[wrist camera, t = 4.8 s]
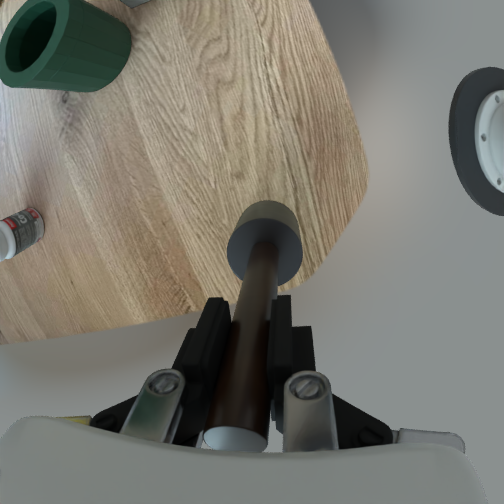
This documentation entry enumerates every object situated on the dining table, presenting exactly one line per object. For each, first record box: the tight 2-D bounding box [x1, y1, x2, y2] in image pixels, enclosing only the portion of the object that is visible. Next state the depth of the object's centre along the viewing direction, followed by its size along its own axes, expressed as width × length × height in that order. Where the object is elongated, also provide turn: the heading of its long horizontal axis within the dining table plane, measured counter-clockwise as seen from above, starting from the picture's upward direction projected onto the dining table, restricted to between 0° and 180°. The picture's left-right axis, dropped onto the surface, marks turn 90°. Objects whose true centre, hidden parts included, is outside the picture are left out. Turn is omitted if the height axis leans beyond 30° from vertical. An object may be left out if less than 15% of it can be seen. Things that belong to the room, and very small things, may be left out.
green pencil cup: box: [0, 0, 131, 92], centre depth 18 cm, size 9×9×11 cm
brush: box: [202, 200, 303, 452], centre depth 15 cm, size 5×5×18 cm
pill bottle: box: [0, 208, 44, 262], centre depth 27 cm, size 5×5×8 cm
